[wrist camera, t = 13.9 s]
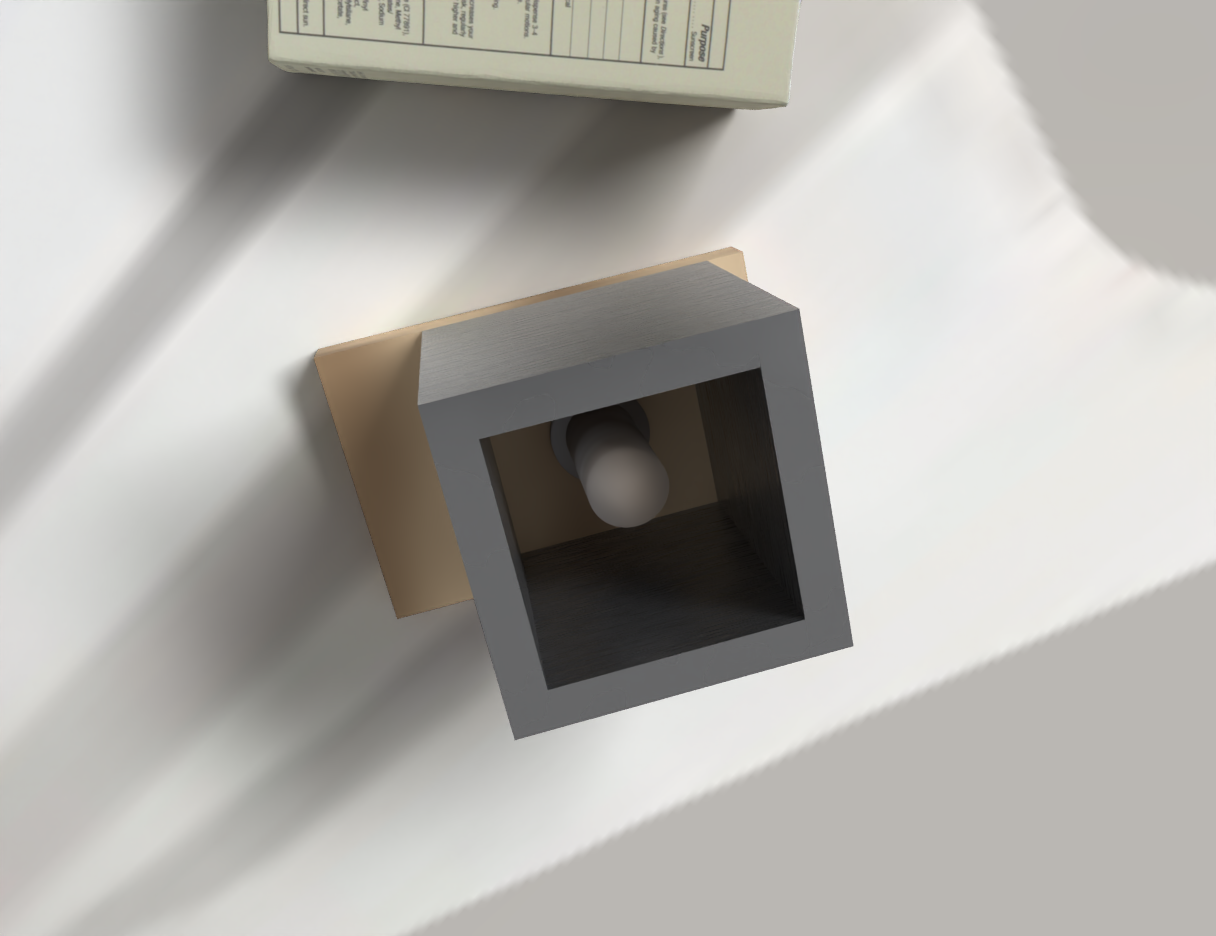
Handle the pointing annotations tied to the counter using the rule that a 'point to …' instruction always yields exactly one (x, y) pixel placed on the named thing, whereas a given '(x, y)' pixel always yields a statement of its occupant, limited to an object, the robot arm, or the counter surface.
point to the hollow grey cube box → (664, 546)
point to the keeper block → (507, 457)
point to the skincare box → (551, 46)
